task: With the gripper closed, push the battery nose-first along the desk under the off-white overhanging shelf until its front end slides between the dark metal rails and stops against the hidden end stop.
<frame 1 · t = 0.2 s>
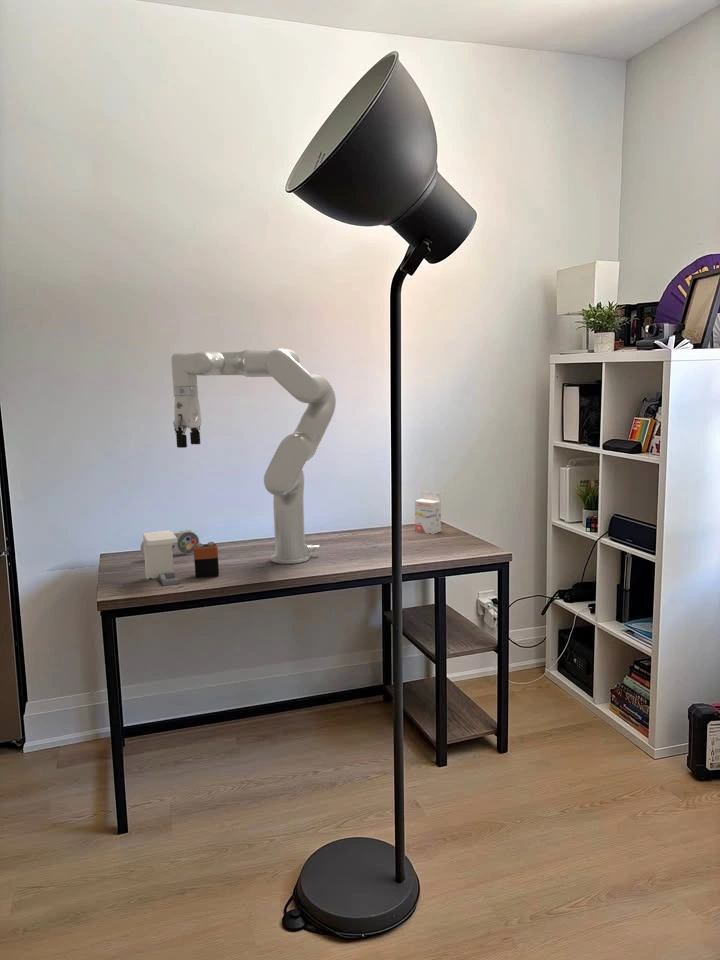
hand: (188, 445, 236), 37 cm above the table, tool pointing down, fingers open, 9 cm apart
ink cartridge box: (428, 532, 270), on the table
overhang shelf: (162, 581, 214), on the table
battery: (207, 576, 219), on the table
game controller: (171, 557, 244), on the table
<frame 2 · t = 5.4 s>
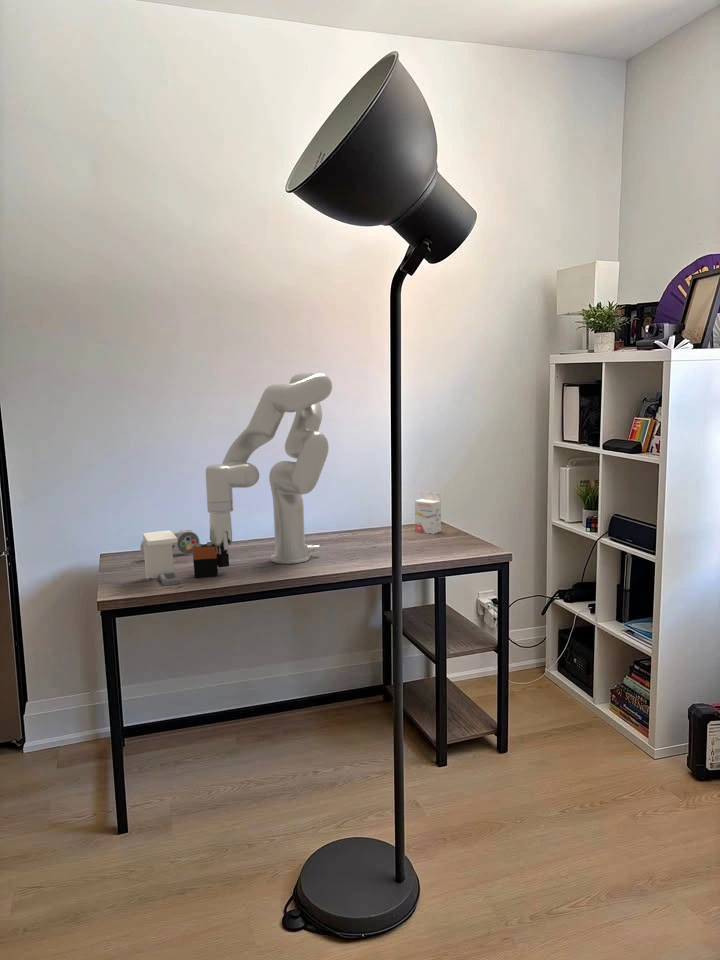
hand: (223, 566, 221), 2 cm above the table, tool pointing down, fingers closed
battery: (206, 576, 219), on the table, touching gripper
everything else where it was.
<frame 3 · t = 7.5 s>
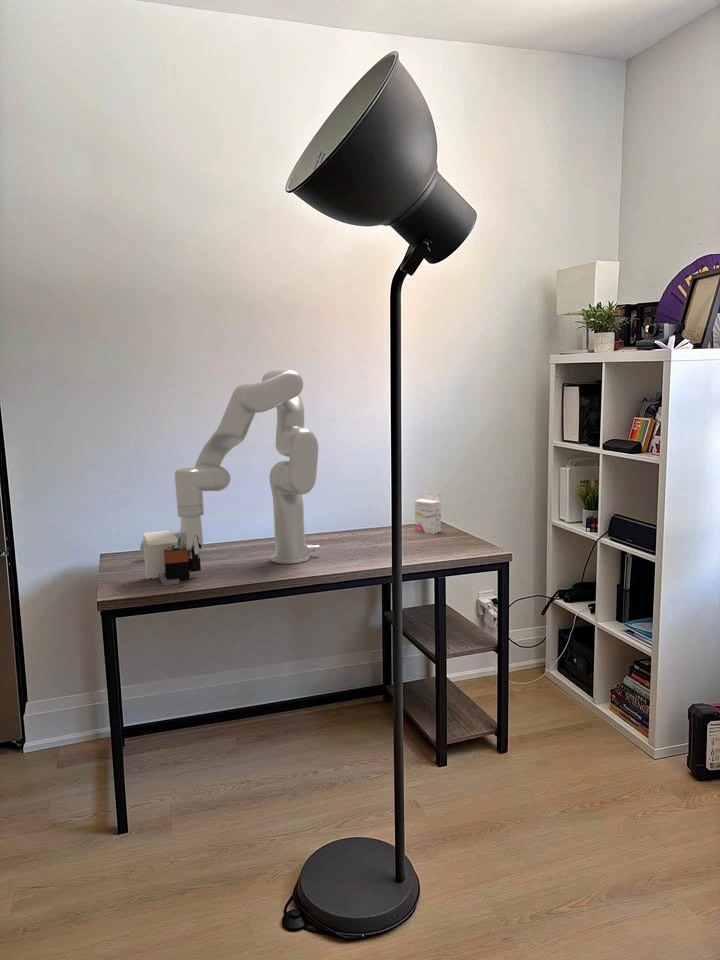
hand: (195, 570, 218), 2 cm above the table, tool pointing down, fingers closed
battery: (177, 580, 216), on the table, touching gripper, overhang shelf
everything else where it was.
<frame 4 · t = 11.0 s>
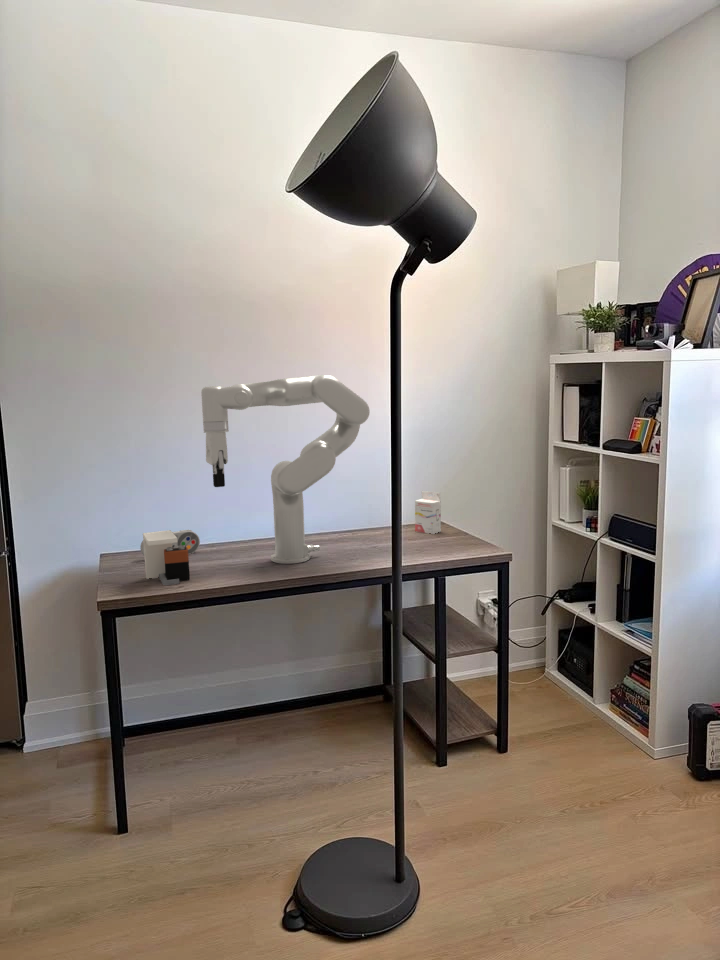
hand: (219, 486, 227), 25 cm above the table, tool pointing down, fingers closed
battery: (177, 580, 216), on the table
everything else where it was.
at the end: battery 0.3 cm from the target spot, on the table; battery tilted 0°; battery moved 8.7 cm from its start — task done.
